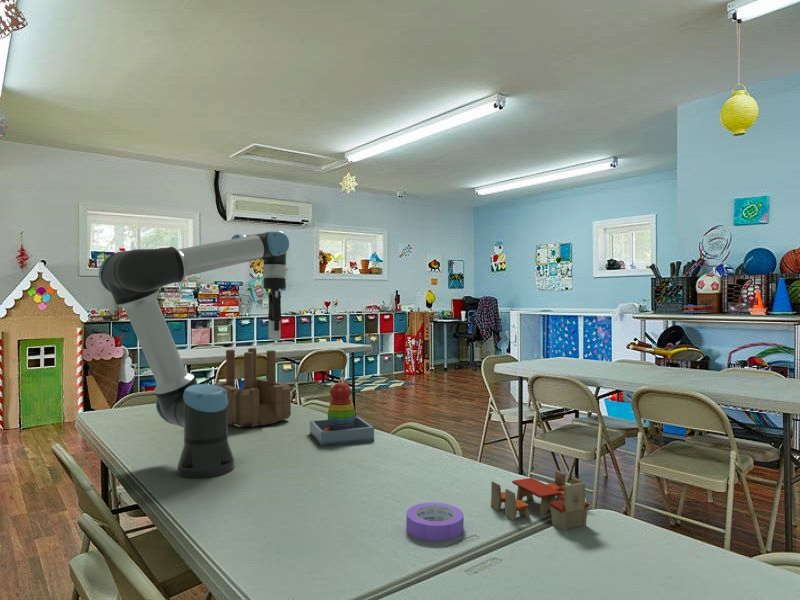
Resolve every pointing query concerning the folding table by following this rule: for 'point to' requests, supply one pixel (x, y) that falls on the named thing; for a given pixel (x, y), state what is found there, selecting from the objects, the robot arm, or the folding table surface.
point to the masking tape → (434, 521)
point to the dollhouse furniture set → (545, 500)
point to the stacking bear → (340, 408)
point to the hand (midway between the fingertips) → (274, 339)
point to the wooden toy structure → (255, 392)
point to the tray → (341, 433)
